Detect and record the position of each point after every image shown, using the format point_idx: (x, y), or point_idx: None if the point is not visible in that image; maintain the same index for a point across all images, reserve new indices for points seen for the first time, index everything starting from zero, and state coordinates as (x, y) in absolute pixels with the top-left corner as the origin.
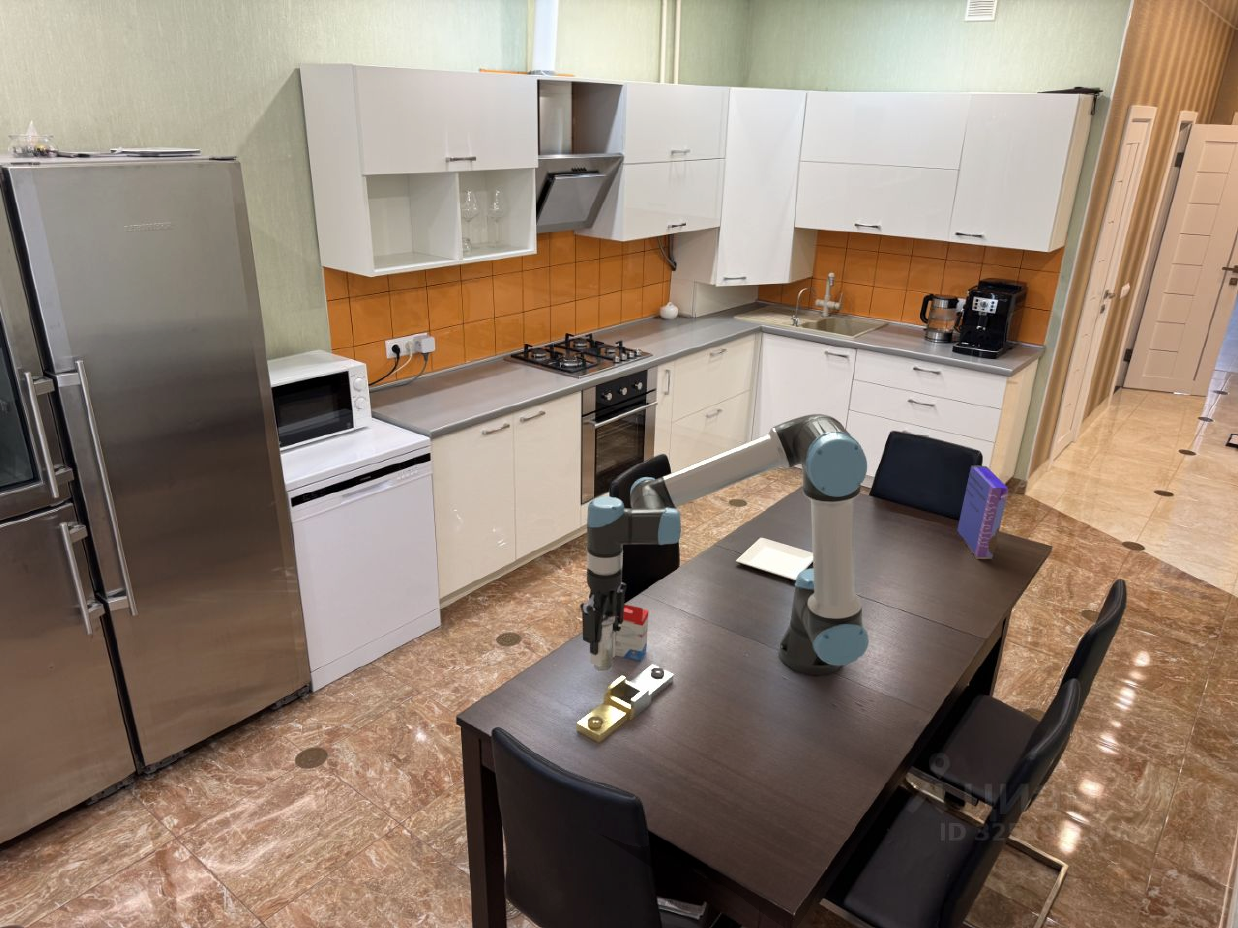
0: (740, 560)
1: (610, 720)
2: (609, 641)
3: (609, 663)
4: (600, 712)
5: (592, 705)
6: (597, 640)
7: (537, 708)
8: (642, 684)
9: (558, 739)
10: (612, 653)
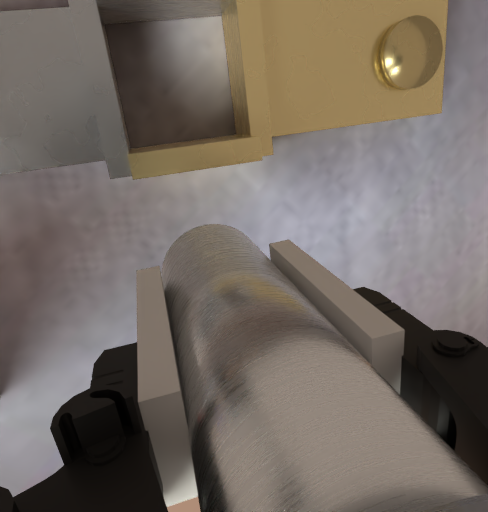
0: None
1: (351, 17)
2: (278, 313)
3: (217, 235)
4: (342, 92)
5: (282, 183)
6: (476, 347)
7: (410, 285)
8: (37, 101)
9: (481, 124)
10: (161, 282)
